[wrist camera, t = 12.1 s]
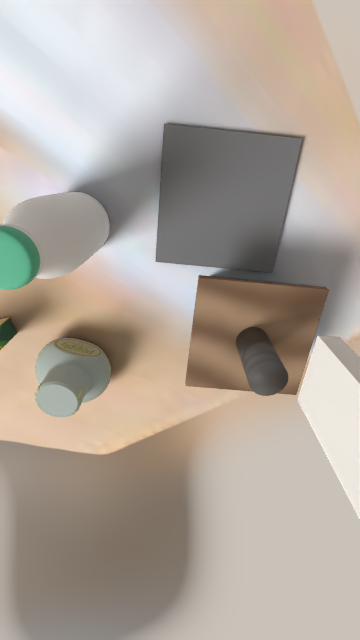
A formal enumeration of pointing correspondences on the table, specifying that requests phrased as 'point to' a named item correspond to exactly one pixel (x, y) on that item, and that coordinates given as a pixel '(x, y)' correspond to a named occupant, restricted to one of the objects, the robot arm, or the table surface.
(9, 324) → the crayon box
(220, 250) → the mat
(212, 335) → the lid
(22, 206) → the milk bottle
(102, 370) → the air freshener
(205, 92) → the table surface
